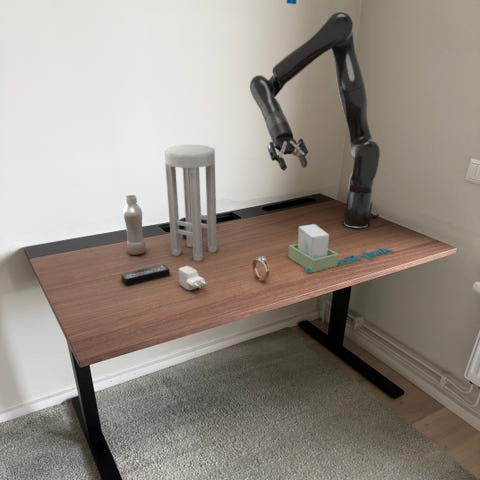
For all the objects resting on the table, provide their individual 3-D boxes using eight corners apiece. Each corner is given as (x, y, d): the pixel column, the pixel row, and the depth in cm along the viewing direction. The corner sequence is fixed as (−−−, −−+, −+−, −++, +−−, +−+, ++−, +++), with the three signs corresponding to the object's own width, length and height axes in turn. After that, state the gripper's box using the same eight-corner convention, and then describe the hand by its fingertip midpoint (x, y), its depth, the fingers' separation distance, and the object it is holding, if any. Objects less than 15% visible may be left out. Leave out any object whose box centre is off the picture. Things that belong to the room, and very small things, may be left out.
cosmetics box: (296, 254, 164) (298, 225, 159) (313, 252, 166) (315, 223, 161) (309, 266, 156) (312, 236, 150) (327, 264, 157) (330, 234, 152)
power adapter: (211, 294, 141) (210, 276, 138) (197, 299, 138) (197, 280, 135) (190, 281, 148) (189, 263, 145) (177, 285, 145) (175, 268, 142)
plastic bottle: (150, 251, 168) (144, 195, 158) (139, 258, 163) (132, 200, 153) (135, 248, 170) (128, 192, 160) (123, 255, 165) (116, 198, 155)
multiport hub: (121, 280, 148) (120, 274, 147) (164, 270, 155) (163, 264, 153) (126, 286, 145) (125, 279, 144) (170, 275, 151) (169, 268, 150)
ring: (270, 283, 147) (271, 259, 143) (262, 285, 145) (262, 261, 141) (258, 275, 152) (259, 251, 148) (250, 277, 151) (250, 253, 146)
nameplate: (394, 253, 168) (383, 248, 172) (394, 251, 168) (384, 246, 171) (310, 275, 152) (301, 269, 156) (310, 273, 152) (301, 267, 156)
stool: (189, 241, 176) (184, 142, 158) (224, 249, 170) (223, 147, 152) (163, 255, 165) (154, 150, 147) (200, 265, 158) (196, 156, 140)
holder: (312, 251, 169) (313, 240, 167) (337, 266, 158) (339, 254, 156) (288, 257, 164) (288, 245, 162) (312, 272, 154) (313, 260, 152)
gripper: (265, 122, 162) (282, 163, 160) (300, 119, 168) (316, 159, 166) (257, 136, 169) (273, 176, 166) (290, 133, 175) (306, 171, 172)
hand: (295, 167), depth 166 cm, fingers open, 8 cm apart
